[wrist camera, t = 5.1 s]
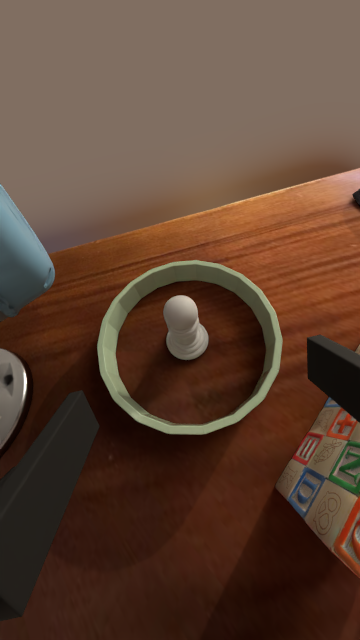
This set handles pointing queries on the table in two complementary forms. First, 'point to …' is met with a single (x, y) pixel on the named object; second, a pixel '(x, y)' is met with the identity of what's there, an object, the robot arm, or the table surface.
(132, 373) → the table surface
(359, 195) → the black pouch
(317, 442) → the stack of blocks
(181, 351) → the chess piece
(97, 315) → the table surface
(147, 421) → the green faceted ring
